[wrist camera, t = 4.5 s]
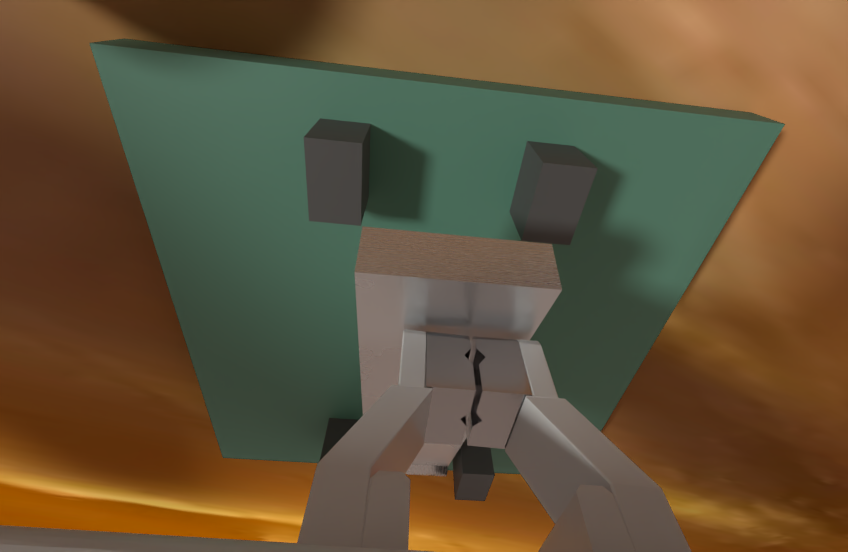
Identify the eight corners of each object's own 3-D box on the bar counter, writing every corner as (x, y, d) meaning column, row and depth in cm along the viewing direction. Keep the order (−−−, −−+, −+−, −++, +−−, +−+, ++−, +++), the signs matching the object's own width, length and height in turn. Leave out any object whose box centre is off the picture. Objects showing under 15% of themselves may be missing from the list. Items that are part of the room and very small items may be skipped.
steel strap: (369, 438, 21) (365, 475, 20) (364, 216, 8) (352, 284, 7) (443, 443, 22) (443, 479, 20) (549, 234, 9) (565, 302, 8)
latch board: (233, 433, 23) (202, 504, 20) (123, 38, 12) (10, 53, 9) (565, 453, 25) (587, 523, 21) (751, 112, 13) (859, 149, 10)
